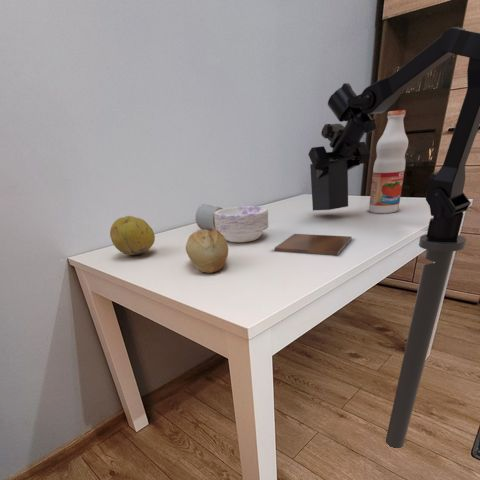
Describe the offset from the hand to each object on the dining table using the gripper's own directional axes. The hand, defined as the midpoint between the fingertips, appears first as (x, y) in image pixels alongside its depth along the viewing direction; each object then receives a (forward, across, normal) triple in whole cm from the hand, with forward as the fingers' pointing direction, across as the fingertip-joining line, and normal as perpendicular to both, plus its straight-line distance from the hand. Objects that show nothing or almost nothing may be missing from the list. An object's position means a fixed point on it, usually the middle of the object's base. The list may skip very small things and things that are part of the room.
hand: (327, 176), depth 109 cm
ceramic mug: (+15, +37, +3) cm, 40 cm away
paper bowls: (+2, +34, +15) cm, 37 cm away
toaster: (+5, 0, +8) cm, 10 cm away
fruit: (+5, +64, +13) cm, 66 cm away
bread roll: (-10, +50, +27) cm, 58 cm away
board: (-10, +22, +28) cm, 37 cm away
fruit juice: (+4, -19, +13) cm, 23 cm away
